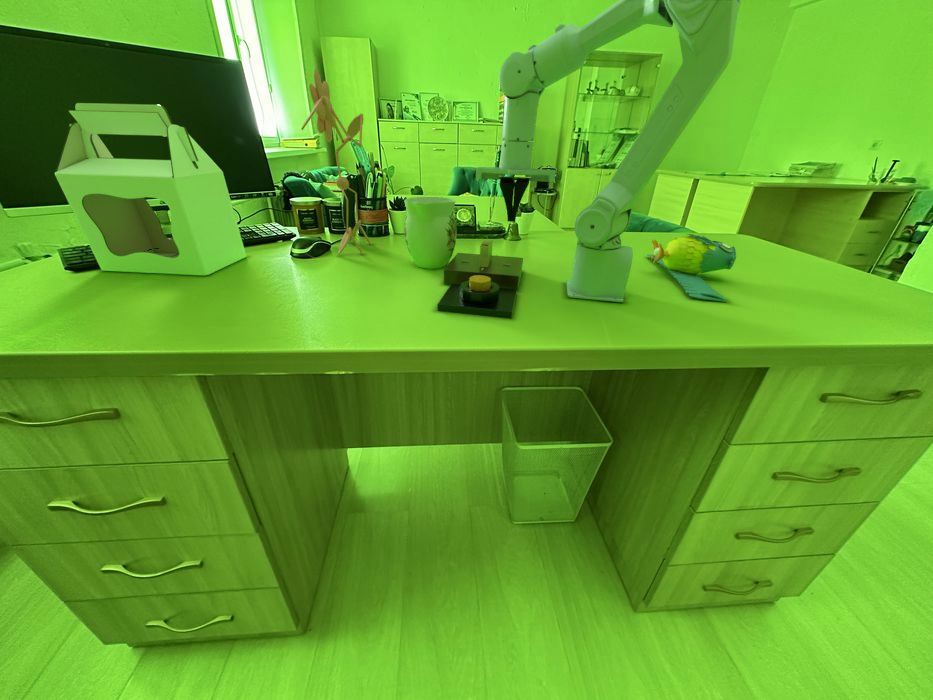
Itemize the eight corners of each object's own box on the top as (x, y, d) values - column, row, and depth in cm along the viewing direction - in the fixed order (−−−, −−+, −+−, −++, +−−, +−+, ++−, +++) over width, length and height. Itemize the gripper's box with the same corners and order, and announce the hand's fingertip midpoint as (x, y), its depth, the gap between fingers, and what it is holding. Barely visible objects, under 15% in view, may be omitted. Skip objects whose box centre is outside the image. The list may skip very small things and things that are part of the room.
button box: (516, 295, 66) (518, 279, 64) (511, 318, 58) (513, 300, 56) (451, 289, 68) (451, 273, 66) (437, 311, 59) (437, 293, 58)
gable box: (99, 271, 72) (15, 99, 58) (154, 252, 84) (94, 105, 70) (208, 276, 71) (148, 102, 57) (248, 257, 82) (206, 108, 68)
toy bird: (640, 218, 86) (708, 223, 85) (630, 255, 90) (695, 260, 89) (685, 249, 62) (781, 257, 61) (669, 297, 66) (758, 305, 65)
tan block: (483, 258, 75) (484, 237, 73) (491, 259, 75) (492, 238, 72) (479, 266, 70) (480, 244, 68) (487, 267, 70) (488, 245, 68)
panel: (521, 271, 78) (523, 256, 76) (517, 291, 68) (519, 275, 66) (457, 266, 80) (457, 251, 79) (443, 284, 70) (443, 268, 68)
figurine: (381, 237, 101) (366, 80, 84) (358, 265, 79) (331, 60, 62) (325, 235, 101) (299, 79, 84) (286, 263, 79) (239, 57, 61)
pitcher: (461, 253, 89) (462, 192, 82) (451, 277, 74) (451, 204, 67) (416, 250, 90) (414, 190, 83) (397, 274, 75) (392, 202, 68)
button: (491, 285, 63) (492, 276, 62) (488, 293, 60) (489, 283, 59) (471, 284, 63) (471, 274, 62) (467, 291, 60) (467, 281, 59)
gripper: (473, 140, 63) (471, 222, 70) (559, 142, 61) (548, 227, 68) (480, 140, 69) (477, 215, 76) (559, 142, 67) (549, 220, 74)
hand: (511, 220), depth 72 cm, fingers closed
